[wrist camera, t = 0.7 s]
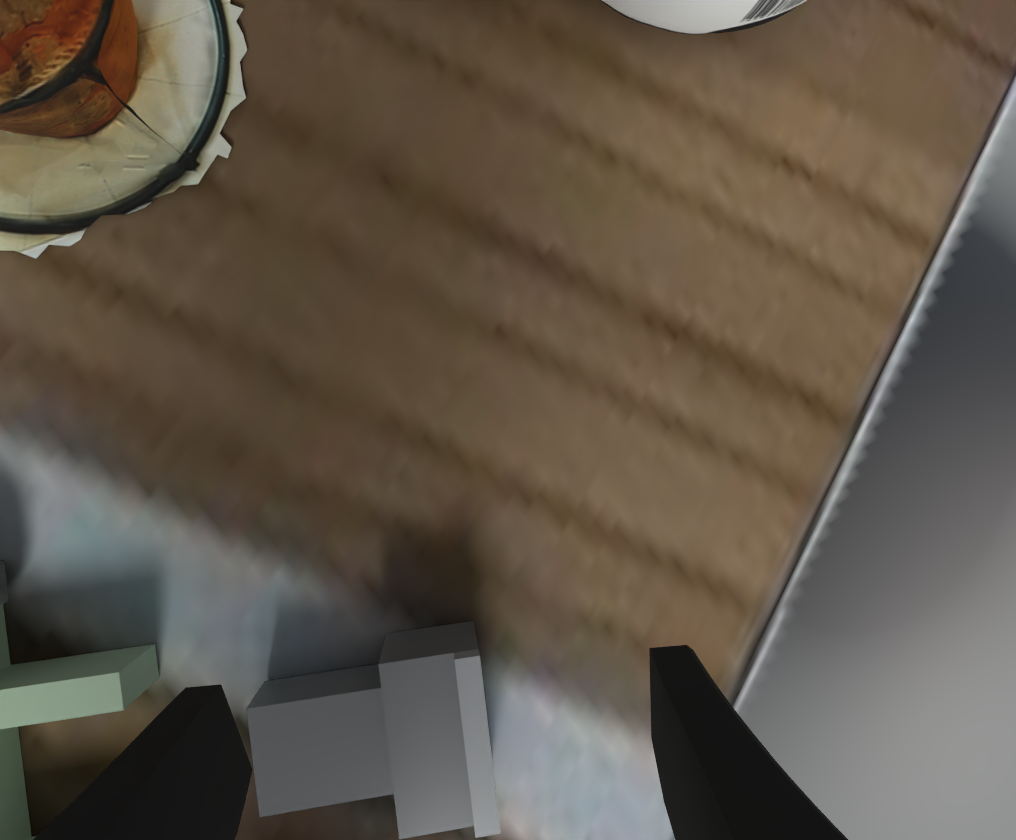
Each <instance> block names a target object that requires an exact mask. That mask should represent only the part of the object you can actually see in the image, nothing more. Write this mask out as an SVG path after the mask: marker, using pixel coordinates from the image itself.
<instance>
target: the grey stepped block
mask: <svg viewBox="0 0 1016 840" xmlns="http://www.w3.org/2000/svg"><path fill="white" fill-rule="evenodd" d="M246 710H247V718H248V726H249V735H250V743H251V751H252V760H253V768H254V776H255V785H256V793H257V801H258V809H259V817H264V816H270V815H276V814H281V813H287V812H293V811H299V810H305V809H310V808H316V807H322V806H328V805H333V804H339V803H345V802H351V801H357V800H362V799H368V798H374V797H380V796H385V795H391V794H394V800H395V808H396V816H397V825H398V833H399V839H405V838H410V837H416V836H421V835H427V834H432V833H438V832H443V831H449V830H455V829H460V828H466V827H471V826H474V829H475V837H476V838H477V837H483V836H488V835H494V834H499V833H501V829H500V821H499V812H498V804H497V795H496V787H495V779H494V770H493V762H492V753H491V745H490V736H489V728H488V720H487V711H486V703H485V694H484V686H483V677H482V669H481V660H480V653H479V648H478V643H477V638H476V633H475V627H474V622H473V621H469V622H462V623H455V624H448V625H442V626H435V627H428V628H422V629H415V630H408V631H401V632H395V633H388V634H386V635H385V639H384V643H383V647H382V651H381V655H380V660H379V664H374V665H368V666H361V667H355V668H348V669H342V670H335V671H329V672H322V673H316V674H309V675H303V676H296V677H290V678H283V679H276V680H270V681H265V682H264V683H263V685H262V686H261V688H260V689H259V691H258V692H257V694H256V695H255V697H254V698H253V700H252V701H251V703H250V704H249V706H248V707H247V709H246Z"/></svg>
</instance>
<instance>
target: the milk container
mask: <svg viewBox="0 0 1016 840" xmlns="http://www.w3.org/2000/svg"><path fill="white" fill-rule="evenodd" d="M601 1H602V2H604V3H605V4H606V5H608V6H609V7H611V8H612V9H613V10H615V11H617V12H618V13H620V14H622V15H624V16H625V17H627V18H630V19H632V20H635V21H638V22H640V23H643V24H647V25H650V26H654V27H657V28H661V29H664V30H668V31H672V32H677V33H682V34H708V33H724V32H732V31H738V30H743V29H747V28H751V27H754V26H758V25H761V24H764V23H766V22H769V21H771V20H773V19H776V18H778V17H780V16H782V15H784V14H786V13H787V12H789V11H791V10H793V9H794V8H796V7H797V6H799V5H800V4H802V3H803V2H805V1H806V0H601Z"/></svg>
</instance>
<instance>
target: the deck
mask: <svg viewBox="0 0 1016 840" xmlns="http://www.w3.org/2000/svg"><path fill="white" fill-rule="evenodd" d="M8 600H9V597H8V589H7V581H6V573H5V565H4V561H2V560H0V840H33V839H34V838H35V837H36V836H33V837H32V836H31V828H30V820H29V811H28V803H27V795H26V787H25V779H24V771H23V762H22V754H21V746H20V738H19V730H18V727H19V726H25V725H32V724H38V723H45V722H51V721H58V720H64V719H70V718H77V717H83V716H90V715H96V714H103V713H109V712H116V711H122V710H124V709H126V708H127V707H128V706H129V705H130V704H131V703H132V702H133V701H134V700H135V699H136V698H138V697H139V696H140V695H141V694H142V693H143V692H144V691H145V690H146V689H147V688H148V687H150V686H151V685H152V684H153V683H154V682H155V681H156V680H157V679H158V678H159V671H158V663H157V655H156V647H155V644H151V645H144V646H137V647H131V648H124V649H117V650H110V651H103V652H96V653H89V654H82V655H75V656H69V657H62V658H55V659H48V660H41V661H34V662H27V663H20V664H14V665H11V664H10V656H9V648H8V640H7V632H6V623H5V615H4V607H3V604H4V603H5V602H7V601H8Z"/></svg>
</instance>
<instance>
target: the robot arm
mask: <svg viewBox="0 0 1016 840" xmlns="http://www.w3.org/2000/svg"><path fill="white" fill-rule="evenodd" d="M650 692H651V736H652V742H653V748H654V753H655V758H656V763H657V768H658V773H659V778H660V783H661V788H662V793H663V798H664V803H665V806H666V809H667V813H668V816H669V820H670V823H671V826H672V830H673V833H674V836H675V840H848V839H847V838H846V837H845V836H844V835H843V834H842V833H841V832H840V831H839V830H838V829H837V828H836V827H835V826H834V825H833V824H832V823H831V822H830V820H829V819H828V818H827V817H826V816H825V815H824V814H823V813H822V812H821V811H820V810H819V809H818V808H817V807H816V806H815V805H814V804H813V802H812V801H811V800H810V799H809V798H808V797H807V796H806V795H805V794H804V792H803V791H802V790H801V789H800V788H799V787H798V786H797V785H796V784H795V782H794V781H793V780H792V779H791V778H790V777H789V776H788V775H787V773H786V772H785V771H784V770H783V769H782V768H781V767H780V765H779V764H778V763H777V762H776V761H775V760H774V759H773V757H772V756H771V755H770V754H769V752H768V751H767V750H766V748H765V747H764V746H763V745H762V744H761V742H760V741H759V740H758V739H757V737H756V736H755V735H754V734H753V733H752V731H751V730H750V729H749V728H748V726H747V725H746V724H745V723H744V721H743V720H742V719H741V717H740V716H739V715H738V714H737V712H736V711H735V710H734V708H733V707H732V706H731V704H730V703H729V702H728V700H727V699H726V698H725V696H724V695H723V693H722V692H721V691H720V689H719V688H718V686H717V685H716V684H715V682H714V681H713V679H712V678H711V677H710V675H709V674H708V672H707V671H706V669H705V668H704V666H703V665H702V663H701V662H700V660H699V659H698V657H697V655H696V654H695V652H694V650H692V649H691V648H690V647H689V646H687V645H681V646H669V647H657V648H650ZM251 773H252V767H251V765H250V762H249V759H248V756H247V754H246V751H245V748H244V746H243V743H242V740H241V737H240V735H239V732H238V729H237V726H236V724H235V721H234V718H233V716H232V713H231V710H230V707H229V705H228V702H227V699H226V697H225V694H224V691H223V688H222V686H221V685H211V686H199V687H187V688H185V689H184V690H183V691H182V692H181V693H180V694H179V695H178V696H177V697H176V698H175V699H174V700H173V701H172V702H171V703H170V704H169V705H168V706H167V707H166V708H165V709H164V710H163V711H162V712H161V713H160V714H159V715H158V716H157V717H156V718H155V719H154V720H153V721H152V722H151V723H150V724H149V725H148V726H147V727H146V728H145V729H144V730H143V731H142V732H141V733H140V734H139V736H138V737H137V738H136V739H135V740H134V741H133V742H132V743H131V744H130V745H129V746H128V747H127V748H126V749H125V750H124V751H123V752H122V753H121V754H120V755H119V756H118V757H117V758H116V759H115V760H114V761H113V762H112V763H111V764H110V765H109V766H108V767H107V768H106V769H105V770H104V771H103V772H102V773H101V774H100V775H99V776H98V777H97V778H96V779H95V780H94V781H93V782H92V783H91V784H90V785H89V786H88V787H87V788H86V789H85V790H84V791H83V792H82V793H81V794H80V795H79V796H78V797H77V798H76V799H75V800H74V801H73V802H72V803H71V804H70V805H69V806H68V807H67V808H66V809H65V810H64V811H63V812H62V813H61V814H60V815H59V816H58V817H57V818H55V819H54V820H53V821H52V822H51V823H50V824H49V825H48V826H47V827H46V828H45V829H44V830H43V831H42V832H41V833H40V834H39V835H37V836H36V837H35V838H34V839H33V840H235V837H236V835H237V831H238V827H239V823H240V819H241V815H242V812H243V808H244V804H245V799H246V795H247V791H248V786H249V782H250V778H251Z"/></svg>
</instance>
